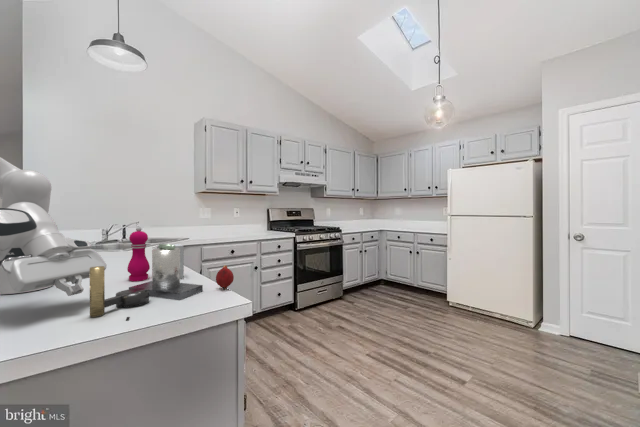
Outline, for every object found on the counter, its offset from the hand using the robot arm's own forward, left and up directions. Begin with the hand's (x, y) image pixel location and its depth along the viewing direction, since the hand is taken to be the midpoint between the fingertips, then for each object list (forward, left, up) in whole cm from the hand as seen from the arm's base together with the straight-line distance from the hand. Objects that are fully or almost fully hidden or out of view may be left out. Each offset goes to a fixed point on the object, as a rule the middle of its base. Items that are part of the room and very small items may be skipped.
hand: (76, 293), depth 76 cm
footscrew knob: (+6, +7, -5) cm, 11 cm away
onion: (+21, +33, -6) cm, 39 cm away
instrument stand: (+6, +14, -5) cm, 16 cm away
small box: (-7, +38, -6) cm, 39 cm away
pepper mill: (-17, +33, -6) cm, 37 cm away
